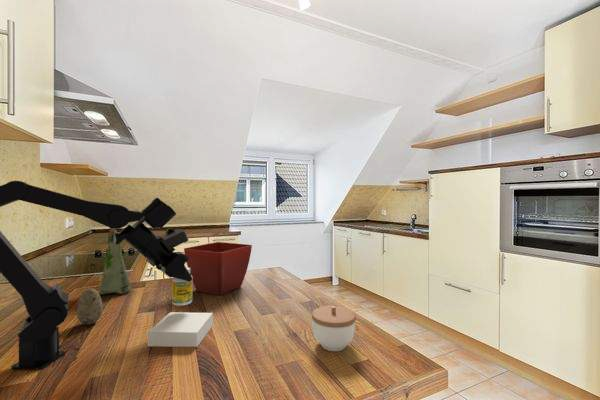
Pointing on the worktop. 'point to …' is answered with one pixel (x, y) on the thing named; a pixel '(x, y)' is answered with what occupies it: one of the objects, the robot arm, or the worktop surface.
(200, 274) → the plant pot
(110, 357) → the worktop surface
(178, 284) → the supplement bottle
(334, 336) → the lidded jar
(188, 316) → the podium
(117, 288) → the pouch
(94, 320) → the decorative egg
